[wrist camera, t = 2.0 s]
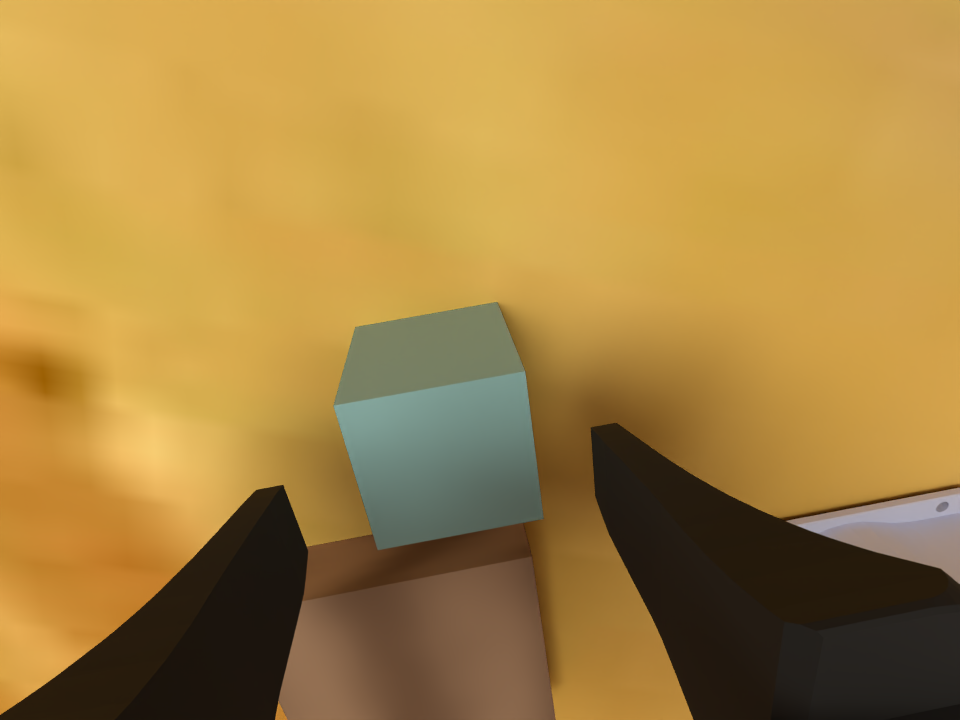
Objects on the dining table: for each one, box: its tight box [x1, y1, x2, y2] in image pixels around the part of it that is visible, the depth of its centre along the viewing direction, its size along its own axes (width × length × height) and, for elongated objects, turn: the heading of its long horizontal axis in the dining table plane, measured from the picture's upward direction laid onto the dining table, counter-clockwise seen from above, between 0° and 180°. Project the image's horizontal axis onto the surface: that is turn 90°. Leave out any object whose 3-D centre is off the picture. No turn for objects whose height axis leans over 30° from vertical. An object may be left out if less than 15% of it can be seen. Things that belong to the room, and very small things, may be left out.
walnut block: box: [279, 523, 556, 720], centre depth 22 cm, size 10×10×3 cm
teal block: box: [334, 302, 544, 550], centre depth 16 cm, size 4×4×5 cm
